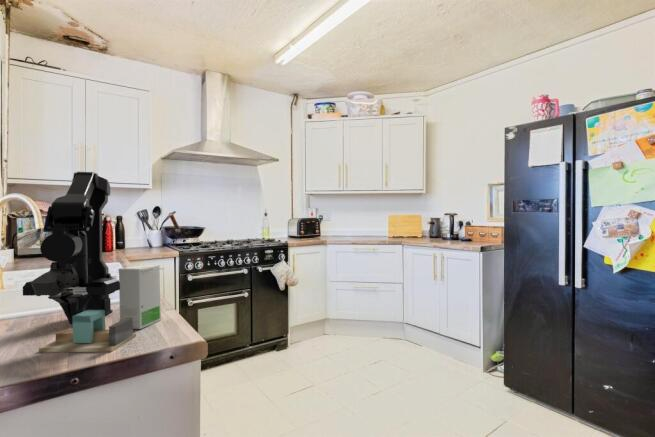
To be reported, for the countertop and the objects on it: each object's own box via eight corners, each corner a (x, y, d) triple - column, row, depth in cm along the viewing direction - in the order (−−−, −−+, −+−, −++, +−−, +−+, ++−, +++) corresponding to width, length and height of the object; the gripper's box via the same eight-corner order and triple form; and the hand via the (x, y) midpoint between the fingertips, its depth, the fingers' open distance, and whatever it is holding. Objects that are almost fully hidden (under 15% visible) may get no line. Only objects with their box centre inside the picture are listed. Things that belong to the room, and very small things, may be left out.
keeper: (73, 342, 76) (72, 316, 75) (88, 335, 80) (87, 309, 80) (90, 342, 75) (90, 316, 75) (105, 335, 80) (104, 309, 80)
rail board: (38, 351, 74) (38, 328, 73) (70, 336, 83) (70, 316, 82) (111, 351, 73) (111, 328, 73) (136, 336, 82) (135, 315, 82)
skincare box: (139, 330, 87) (138, 269, 86) (117, 328, 88) (116, 268, 88) (162, 319, 95) (161, 264, 94) (141, 318, 96) (140, 263, 96)
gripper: (-4, 261, 70) (-1, 337, 70) (86, 261, 69) (88, 337, 70) (43, 254, 81) (45, 319, 81) (120, 254, 80) (122, 319, 81)
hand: (73, 324), depth 78 cm, fingers closed
